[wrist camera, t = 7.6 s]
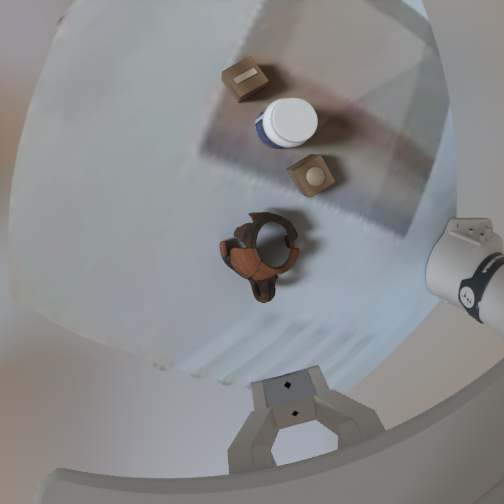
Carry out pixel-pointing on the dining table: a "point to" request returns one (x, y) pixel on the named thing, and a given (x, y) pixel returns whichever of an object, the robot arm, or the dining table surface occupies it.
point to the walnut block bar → (244, 79)
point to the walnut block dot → (311, 175)
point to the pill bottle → (286, 123)
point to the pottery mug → (251, 263)
